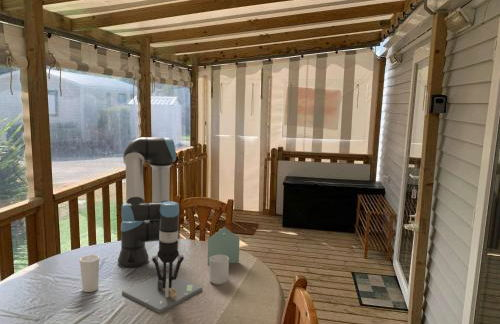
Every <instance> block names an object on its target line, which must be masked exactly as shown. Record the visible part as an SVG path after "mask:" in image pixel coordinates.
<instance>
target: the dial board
mask: <svg viewBox="0 0 500 324" xmlns="http://www.w3.org/2000/svg"><path fill="white" fill-rule="evenodd" d="M173 275H174V274H172V276H173ZM161 276H163V272H161ZM166 278H167V279H169V272H166ZM172 287H173V288H174V289H175V290H176V291H177V298H176V299H173V300H172V299H171V298H170V297H169V296H168V297H165V292H164V291H163V290H158V276H157V275H155V276H153V277H151V278H149V279H146V280H144V281H142V282H140V283H136V284H135V285H132V286H129V287H127V288H125V289H123V290H122V291H121V294H122V295H123V296H125V297H127V298H128V299H131V300H133V301H135V302H137V303H138V304H141V305H143V306H145V307H146V308H148V309H150V310H153V311H154V312H157V313H158V314H162V313H163V312H165V311H167V310H168V309H172V308H173V307H174V306H176V305H178V304H179V303H182V302H183V301H185V300H188V299H189V298H190V297H192V296H195V295H196V294H198V293H200V292H201V291H203V287H202V286H200V285H198V284H195V283H192V282H190V281H188V280H186V279H183V278H181V277H178V276H177V278H176V280H172Z"/></svg>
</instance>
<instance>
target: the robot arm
mask: <svg viewBox="0 0 500 324" xmlns="http://www.w3.org/2000/svg"><path fill="white" fill-rule="evenodd" d="M122 159H123V164H124V165H125V203H122V204H121V220H122V221H121V224H120V233H121V234H120V237H121V240H120V243H121V245H120V246H121V249H120V251H119V254H118V255H119V256H118V258H117V264H118V266H119V267H122V268H126V269H131V268H139V267H143V266H145V265H146V264H148V263H149V262H150V261H149V260H150V258H149V255H148V254H149V253H148V251H147V248H146V243H149V242H158V251H157V253H156V255H153V256H152V257H151V261H152V262H153V264H154V267H155V270H156V276H158V280H162V281H163V289H165V297H168V292H169V288H171V287H172V280H176V278H177V277H178V275H179V271H180V268H181V264H182V262H183V261H184V260H185V257H184V255H181V254H180V252H179V250H178V249H179V241H178V240H179V220H180V204H179V203H178V202H176V201H172V200H170V188H171V187H170V185H171V183H170V178H171V177H170V173H171V172H170V171H171V169H170V168H171V167H172V166H173V164H174V163H173V162H174V161H176V160H177V153H176V145H175V141H174V139H172V138H171V137H165V136H164V137H163V136H161V137H153V136H152V137H146V136H145V137H144V136H143V137H138V138H136V139H134V140H133V141H131V142H130V143H129V144H128V145H127V147H126V148H125V149H124V152H123V157H122ZM145 162H148V164H149V166H150V167H151V168H152V169H151V171H152V175H151V178H152V179H151V180H152V181H151V182H152V183H151V184H152V185H151V186H152V187H151V188H152V189H151V190H152V191H151V192H152V197H151V198H152V199H151V202H145V186H144V185H145V184H144V183H145V182H144V167H143V165H144V163H145ZM159 260H160V261H161V262H162V264H163V265H162V272H161V269H160V265H159ZM176 260H177V262H176V265H175V268H174V271H173V265H174V264H173V263H174V261H176ZM167 263H168V264H169V266H168V267H169V268H168V273H169V279H166V273H167ZM162 273H163V276H161V274H162ZM172 275H173V276H172Z"/></svg>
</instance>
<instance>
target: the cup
mask: <svg viewBox="0 0 500 324" xmlns="http://www.w3.org/2000/svg"><path fill="white" fill-rule="evenodd" d="M79 264H80V275H81V286H82V292H85V293H92V292H94V291H97V290H98V289H99V279H100V278H99V276H100V274H99V271H100V256H99V255H97V254H87V255H84V256H81V257H80V258H79Z"/></svg>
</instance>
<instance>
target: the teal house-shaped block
mask: <svg viewBox="0 0 500 324" xmlns="http://www.w3.org/2000/svg"><path fill="white" fill-rule="evenodd" d="M214 255H225V256H227V257H228V258H229V264H240V236H238V235H236V234H235V233H233V231H230V230H229V229H228V228H227V227H226V226H223V227H222V228H220V229H219V230H218V231H217V232H215V233H214V234H212V235H211V236H210V237H208V240H207V265H210V257H211V256H214Z"/></svg>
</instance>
